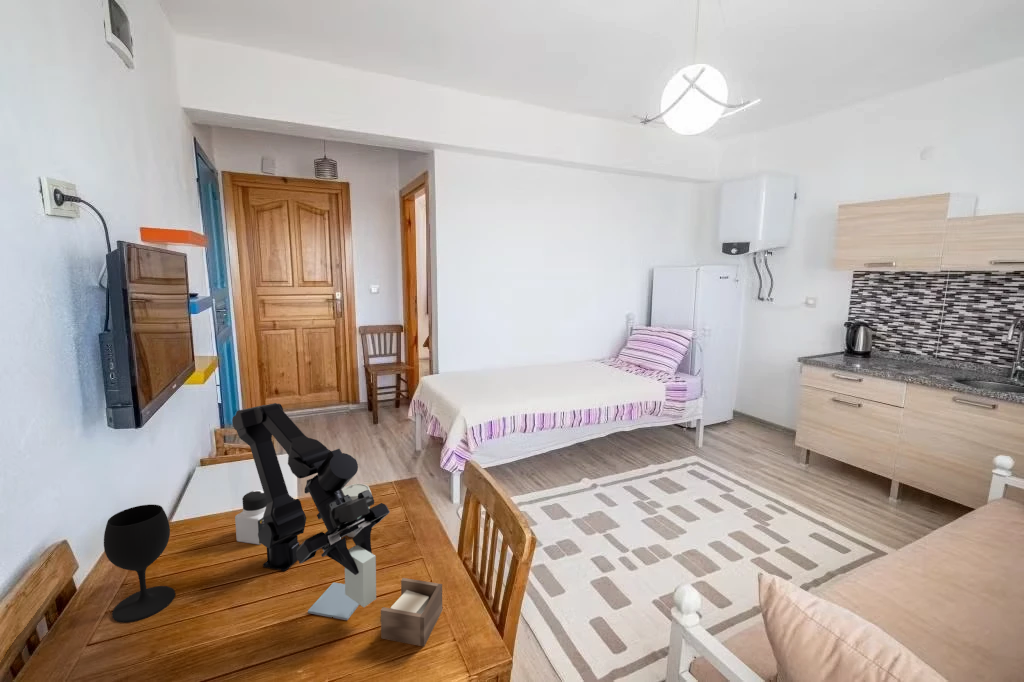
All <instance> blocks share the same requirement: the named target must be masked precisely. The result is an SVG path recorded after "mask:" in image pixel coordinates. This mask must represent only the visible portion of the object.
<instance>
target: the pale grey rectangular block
mask: <svg viewBox="0 0 1024 682" xmlns="http://www.w3.org/2000/svg"><path fill="white" fill-rule="evenodd" d="M347 549H348V548H347ZM348 550H349V552H350V554H351V556H352V558H353V560H354V562H355V564H356V566H357V568H358V571H359V573H358V574H357V575H354V574H353V573H352V572H350V571H349V570H348V569H346V568H345V567H344V584H345V595H347V596H348V597H350V598H351V599H352V600H354V601H355V602H357V603H358V604H359V606H361V607H363V608H366V606H368V605H370V604H371V603H372V602H374V601H376V600H377V561H376V560H377V556H376V555H375V554H374V553H373V552H372V553H370V552H369V551H367V550H365V549H363V548H362V547H360V546H358V545H355V544H354V546H352V547H350V548H349V549H348Z"/></svg>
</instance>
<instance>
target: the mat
mask: <svg viewBox="0 0 1024 682" xmlns="http://www.w3.org/2000/svg"><path fill="white" fill-rule="evenodd" d="M359 606H360V605H359V604H358V603H357V602H355V601H354V600H352V599H351V598H350V597H348V596H347V595H345V583H340V582H332V583H331V585H330V586H329V587H328V588H327V589H326V590H325V591H324V592H323V593H322V594H321V596H320V597H319V598H318V599H317V600H316V601H315V602H314V603H313V604H312V605H311V606H310V608H308V610H307V613H308V614H312V615H316V616H323V617H328V618H332V617H333V618H332V619H338V620H344V621H348V620H349V619H350V617H351V616H352V615H353V613H355V611H356V610H357V609H358V607H359Z"/></svg>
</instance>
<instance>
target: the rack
mask: <svg viewBox="0 0 1024 682" xmlns="http://www.w3.org/2000/svg"><path fill="white" fill-rule="evenodd" d="M400 587H401V590H400V591H401V594H400V595H401V596H402V595H403V593H404V592H405V591H406V590H409V591H412V592H415V593H419V594H422V595H425V596H429V602H428V604H427V605H426V607H425V609H424V611H423V613H422V614H419V613H413V612H407V611H402V610H396V609H391V607H390V608H389V607H382V608H381V609H380V637H381V639H383V640H388V641H393V642H398V643H403V644H409V645H415V646H419V647H425V646H426V644H427V642H428V640H429V638H430V636H431V634H432V632H433V630H434V627H435V626H436V624H437V622H438V620H439V618H440V616H441V614H442V612H443V584H442V583H436V582H432V581H425V580H418V579H413V578H406V577H402V578H401V579H400ZM401 596H400V597H401Z"/></svg>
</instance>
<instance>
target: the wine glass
mask: <svg viewBox="0 0 1024 682" xmlns="http://www.w3.org/2000/svg"><path fill="white" fill-rule="evenodd" d="M170 526H171V525H170V522H169V517H168V516H167V514H166V512H165V510H164V507H163V506H161V505H159V504H143V505H137V506H133V507H130V508H127V509H124V510H121V511H119V512H117V513H114V515H112V516H111V517H110V518H108V520H107V522H106V524H105V529H104V532H103V533H104V534H103V548H104V549H103V550H104V553H105V555H106V557H107V559H108V561H109V562H110V563H111V564H112V565H114V566H115V567H117V568H120V569H121V570H127V571H135V573H137V576H138V580H139V590H138V591H136V592H134V593H133V594H131V595H128V596H127V597H125V598H124V599H122V600H121V601H120V602H119V603H117V605H115V607H114V608H113V610H112V613H111V617H112V619H113V620H114V621H115V622H117V623H118V622H119V623H123V624H124V623H133V622H139V621H142V620H144V619H147V618H150V617H152V616H154V615H156V614H158V613H159V612H161V611H163V610H164V609H166V608H167V607H168V606H169V605H170V604H171V603H172V602H173V601H174V599H175V597H176V591H175V589H174V588H173V587H171V586H167V585H158V586H152V587H151V586H150V587H148V588H147V584H146V583H147V582H146V572H147V568H148V567H149V566H151V565H152V564H153V563H154V562H155V561H156V560H158V559H159V557H160V556H161V555H162V553H163V552H165V549H166V547H167V546H168V544H169V543H168V542H170V536H171V527H170Z"/></svg>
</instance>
